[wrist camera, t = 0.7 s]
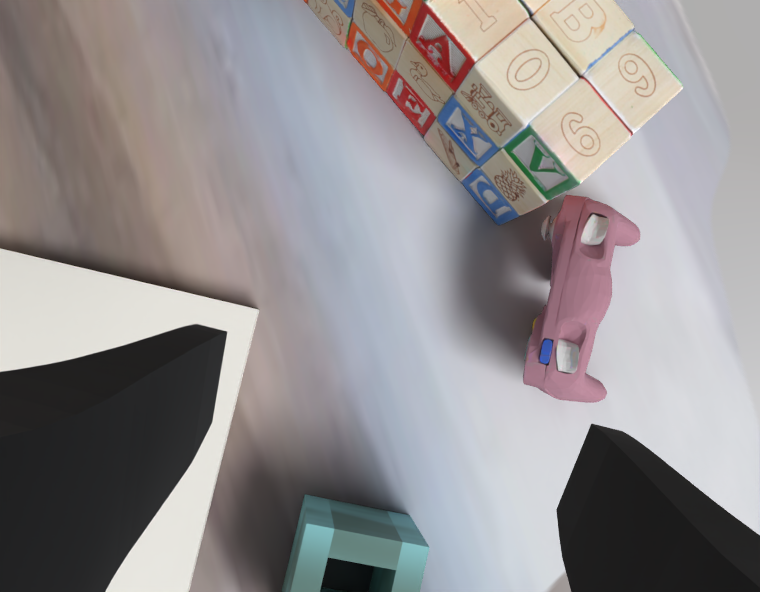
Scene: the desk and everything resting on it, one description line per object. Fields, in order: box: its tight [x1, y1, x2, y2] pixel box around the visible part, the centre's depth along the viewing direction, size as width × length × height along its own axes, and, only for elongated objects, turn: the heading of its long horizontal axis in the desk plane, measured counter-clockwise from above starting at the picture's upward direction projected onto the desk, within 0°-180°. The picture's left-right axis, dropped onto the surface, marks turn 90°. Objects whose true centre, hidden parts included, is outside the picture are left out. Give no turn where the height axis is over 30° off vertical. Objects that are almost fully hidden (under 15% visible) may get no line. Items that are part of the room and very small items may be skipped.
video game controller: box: [523, 195, 640, 402], centre depth 30 cm, size 10×5×7 cm, turn 166°
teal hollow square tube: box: [282, 494, 429, 592], centre depth 28 cm, size 5×5×4 cm
